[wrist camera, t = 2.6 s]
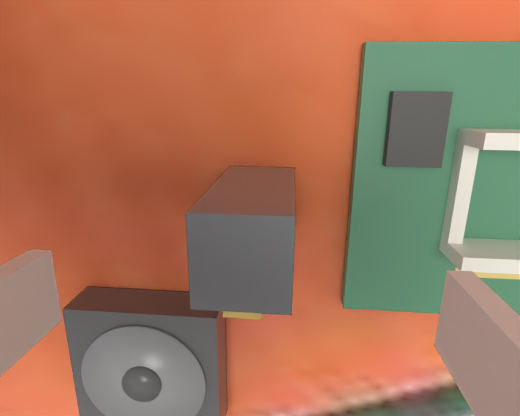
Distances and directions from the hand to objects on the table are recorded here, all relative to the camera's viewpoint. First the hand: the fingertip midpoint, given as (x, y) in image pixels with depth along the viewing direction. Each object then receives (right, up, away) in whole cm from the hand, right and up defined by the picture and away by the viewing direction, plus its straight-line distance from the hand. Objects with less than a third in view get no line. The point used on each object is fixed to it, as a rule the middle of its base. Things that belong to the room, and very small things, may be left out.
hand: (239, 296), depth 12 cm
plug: (+1, +4, +11) cm, 12 cm away
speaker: (-7, -8, +15) cm, 18 cm away
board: (+15, +4, +10) cm, 18 cm away
